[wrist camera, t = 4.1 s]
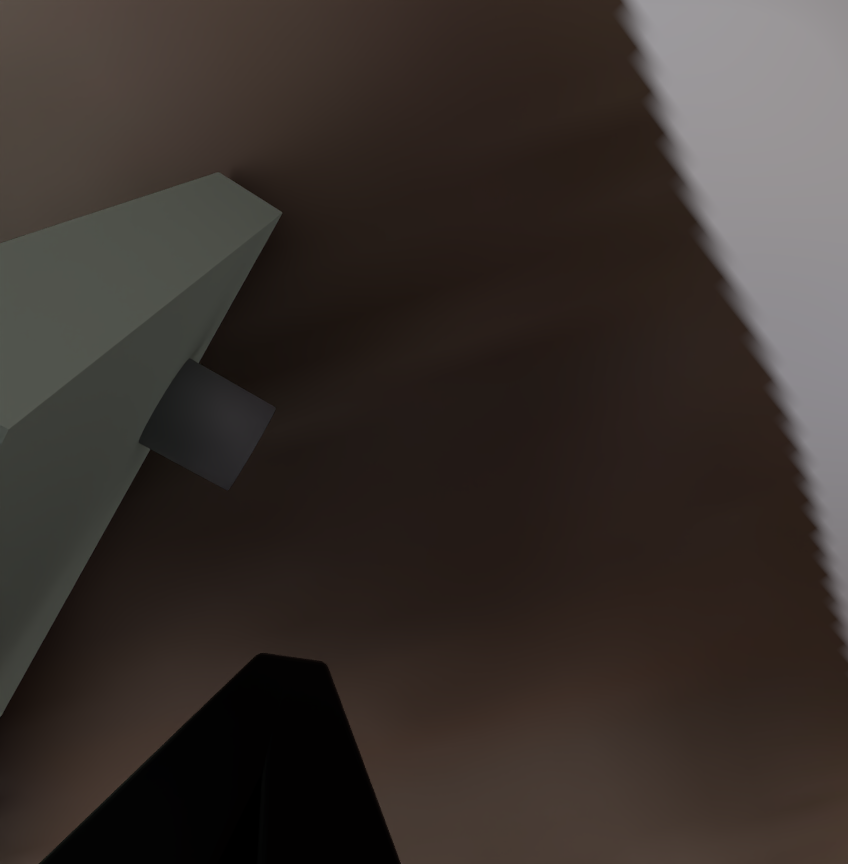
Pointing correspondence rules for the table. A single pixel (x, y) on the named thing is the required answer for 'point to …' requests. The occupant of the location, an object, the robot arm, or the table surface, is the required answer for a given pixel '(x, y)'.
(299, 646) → the table surface
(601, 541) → the table surface
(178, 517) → the table surface
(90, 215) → the door
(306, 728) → the robot arm
